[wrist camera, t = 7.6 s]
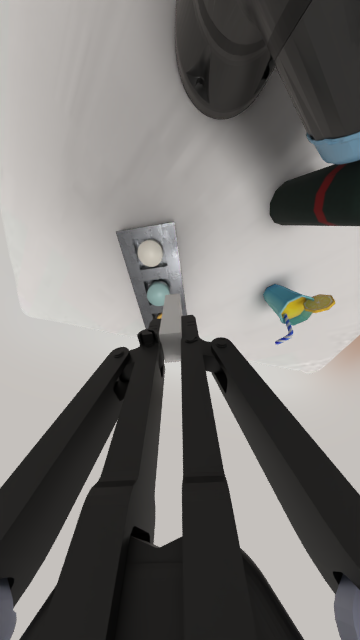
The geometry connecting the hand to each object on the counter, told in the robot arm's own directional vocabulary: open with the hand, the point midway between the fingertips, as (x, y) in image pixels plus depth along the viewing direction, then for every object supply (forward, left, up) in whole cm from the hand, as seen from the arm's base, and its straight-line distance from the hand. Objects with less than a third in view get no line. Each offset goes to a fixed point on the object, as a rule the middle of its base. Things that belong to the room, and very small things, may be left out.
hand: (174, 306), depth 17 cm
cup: (+14, +25, -26) cm, 38 cm away
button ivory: (-2, -5, -24) cm, 25 cm away
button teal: (+7, -5, -23) cm, 24 cm away
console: (+7, -5, -26) cm, 27 cm away
